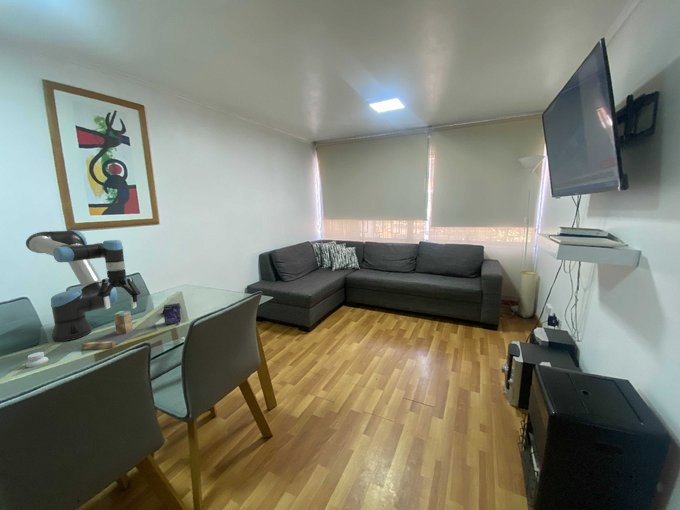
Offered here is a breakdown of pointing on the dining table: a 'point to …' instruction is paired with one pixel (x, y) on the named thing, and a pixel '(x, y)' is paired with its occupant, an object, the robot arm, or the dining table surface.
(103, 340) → the mat
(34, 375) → the dining table surface
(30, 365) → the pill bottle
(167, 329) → the dining table surface
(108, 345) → the strip
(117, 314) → the block
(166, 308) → the box
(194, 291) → the dining table surface
